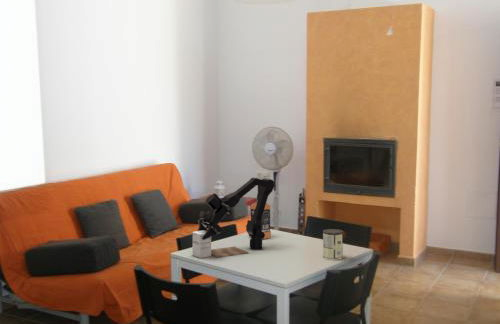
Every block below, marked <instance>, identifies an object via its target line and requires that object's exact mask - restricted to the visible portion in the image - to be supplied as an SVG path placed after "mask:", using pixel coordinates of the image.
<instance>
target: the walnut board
mask: <svg viewBox="0 0 500 324" xmlns="http://www.w3.org/2000/svg"><path fill="white" fill-rule="evenodd" d="M245 254H246V255H248V254H249V251H247V250H244V249H243V248H240V247H237V246H235V245H234V246H228V247H221V248H213V249H212V248H211V256H213V257H214V258H217V259H218V258H225V257H231V256H238V255H245Z"/></svg>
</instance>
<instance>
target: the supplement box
mask: <svg viewBox="0 0 500 324" xmlns="http://www.w3.org/2000/svg"><path fill="white" fill-rule="evenodd" d="M206 232H207V231H204V230H202V231H198V230H196V231H192V256H194V257H197V258H199V259H202V258H210V257H211V256H212V255H211V250H212V236H211V237H209V238H207V239H205V240H203V239H202V238H203V236H204V235H205V233H206Z"/></svg>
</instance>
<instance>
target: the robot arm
mask: <svg viewBox="0 0 500 324" xmlns="http://www.w3.org/2000/svg"><path fill="white" fill-rule="evenodd" d="M258 185H259V190H260V195H259V198H258V202H257V201H256V202H257V205H256V208H255V212H254V215H253V218H252V219H251V218H250V220H249V219H247V223H246V225H245V227H246V229H245V230H246V233H247V234H248V236H251V238H250V239H249V248H250V250H263V240H262V238H264V237H265V234H264V233H263V232H262V231H261V228H262V224H261V219H262V215H263V212H264V209H265V205H266V203H267V201H268V198H269V196H270V195H271V194H272V192H273V190H274V188H275V185H276V183H275V180H273V179H269V178H262V179H260V178H257V177H251V178H250V179H249V180H248V181H247V182H245V183H244V184H243V185H241V186H240V187H239V188H237V190H235V191H234V192H231V193H227V194H226V195H225V196H223V197H222V198H221V197H219V196H218V194H217V193H212V194H211V195H208V196H207V197H206V199H205V203H206V204H207V205H208V206H209V207H210V208H211V210H214V211H213V212H211V211H207V212H206V211H203V210H201V211H200V213H199V218H198V219H197V222H198V228H197V231H202V230H204V231H207V232H206V233H205V235H204V236H203V238H202V239H203V240H205V239H207V238H209V237H211V238H212V237H213V236H215V235H218V234H220V235H221V233H222V232H223V228H222V227H221V226H220V225H219V223H222V222H223V219H224V217H225V216H226V215H227V214H228V215H232V209H231V208H234V207H236V206H237V205H238V204H239V202H240V200H241V199H242V198H243V197H244V196H246V194H248V193H249V192H251V190H253V189H254V188H255V187H258Z"/></svg>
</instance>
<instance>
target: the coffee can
mask: <svg viewBox="0 0 500 324" xmlns="http://www.w3.org/2000/svg"><path fill="white" fill-rule="evenodd" d="M343 234H344V230H342V229H338V228H327V229H323V230H322V241H323V242H322V258H323V259H325V260H328V261H337V260H342V259H343V258H344V257H343V254H344V253H343V247H344V246H343V243H344V242H343V241H344V238H343V237H344V235H343Z"/></svg>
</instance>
